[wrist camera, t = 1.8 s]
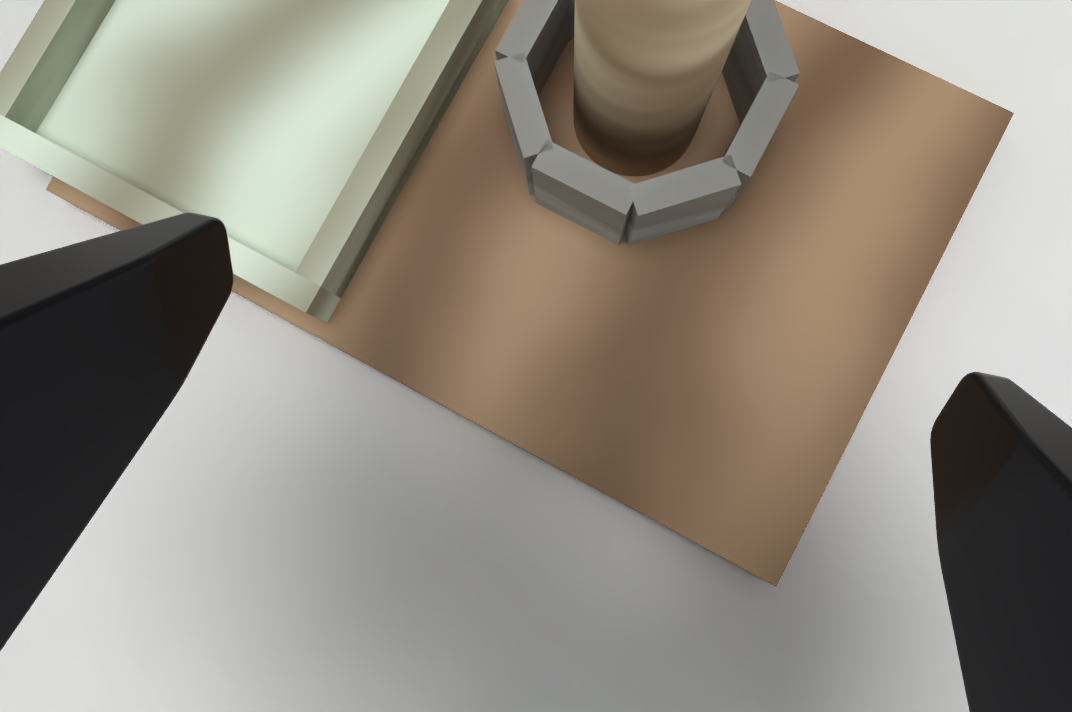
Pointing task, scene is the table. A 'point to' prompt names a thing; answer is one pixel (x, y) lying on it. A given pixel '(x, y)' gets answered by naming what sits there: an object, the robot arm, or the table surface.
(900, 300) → the stand
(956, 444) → the robot arm
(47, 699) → the table surface
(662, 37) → the dowel
